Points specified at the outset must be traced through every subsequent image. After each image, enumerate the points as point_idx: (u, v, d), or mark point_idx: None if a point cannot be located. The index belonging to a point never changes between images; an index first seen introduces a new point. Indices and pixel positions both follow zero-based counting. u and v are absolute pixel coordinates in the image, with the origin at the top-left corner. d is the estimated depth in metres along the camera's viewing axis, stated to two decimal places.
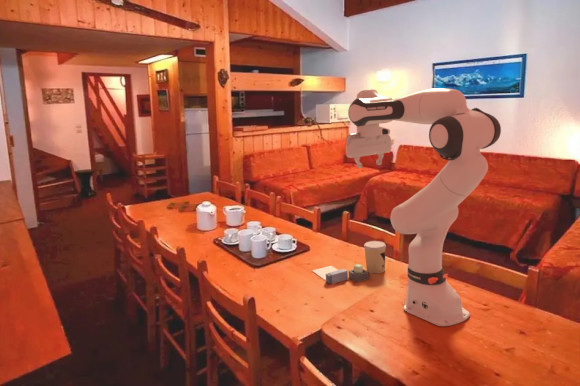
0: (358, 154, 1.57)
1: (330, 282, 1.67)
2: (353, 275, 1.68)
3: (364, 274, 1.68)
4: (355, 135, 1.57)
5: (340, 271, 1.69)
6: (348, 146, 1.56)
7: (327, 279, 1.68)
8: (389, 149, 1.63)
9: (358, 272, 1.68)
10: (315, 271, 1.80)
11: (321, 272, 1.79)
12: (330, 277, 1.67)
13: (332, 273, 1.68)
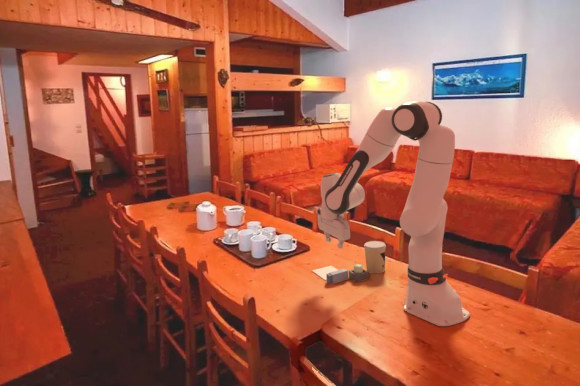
0: None
1: (331, 282, 1.67)
2: (353, 275, 1.68)
3: (364, 274, 1.68)
4: None
5: (340, 271, 1.69)
6: (346, 229, 1.56)
7: (327, 279, 1.68)
8: None
9: (358, 272, 1.68)
10: (315, 271, 1.80)
11: (321, 272, 1.79)
12: (331, 277, 1.67)
13: (333, 273, 1.68)
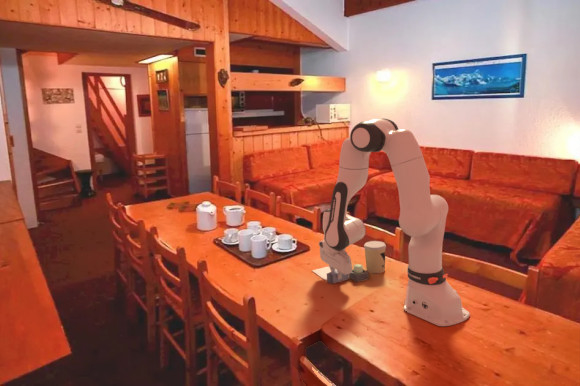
0: None
1: (331, 281, 1.67)
2: (353, 275, 1.68)
3: (364, 274, 1.68)
4: None
5: None
6: (348, 263, 1.59)
7: (328, 279, 1.68)
8: None
9: (358, 272, 1.68)
10: (315, 271, 1.80)
11: (321, 272, 1.79)
12: (331, 276, 1.67)
13: (333, 272, 1.68)
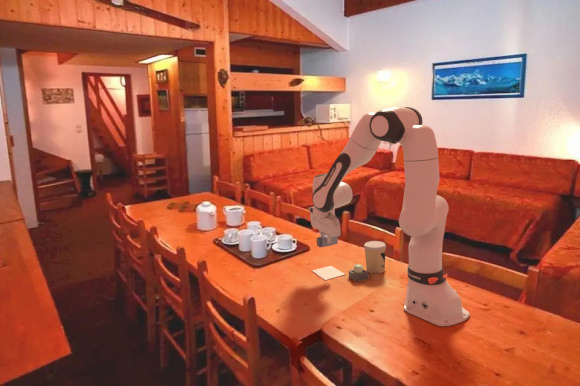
0: None
1: (321, 245, 1.73)
2: (353, 275, 1.68)
3: (364, 274, 1.68)
4: None
5: None
6: (337, 226, 1.65)
7: (317, 243, 1.74)
8: None
9: (358, 272, 1.68)
10: (315, 271, 1.80)
11: (321, 272, 1.79)
12: (321, 240, 1.72)
13: (323, 237, 1.74)
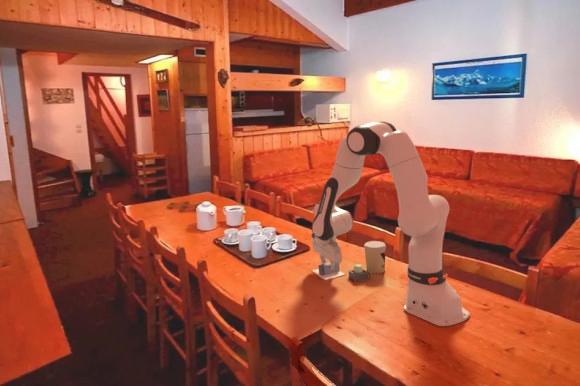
0: None
1: (323, 273, 1.75)
2: (353, 275, 1.68)
3: (364, 274, 1.68)
4: None
5: None
6: (338, 253, 1.67)
7: (319, 270, 1.76)
8: None
9: (358, 272, 1.68)
10: (315, 271, 1.80)
11: None
12: (323, 268, 1.75)
13: (324, 264, 1.76)
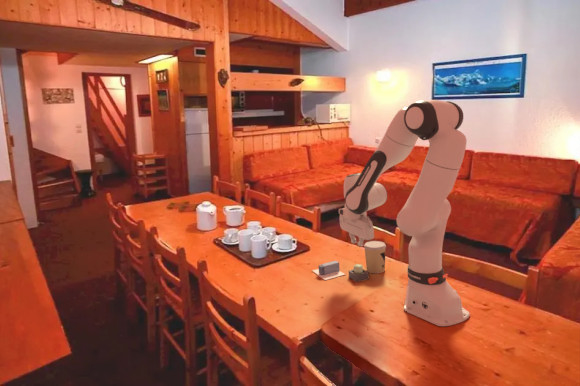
0: None
1: (323, 273, 1.75)
2: (353, 275, 1.68)
3: (364, 274, 1.68)
4: None
5: (332, 263, 1.78)
6: (370, 228, 1.57)
7: (319, 270, 1.76)
8: None
9: (358, 272, 1.68)
10: (315, 271, 1.80)
11: None
12: (323, 268, 1.75)
13: (324, 264, 1.76)
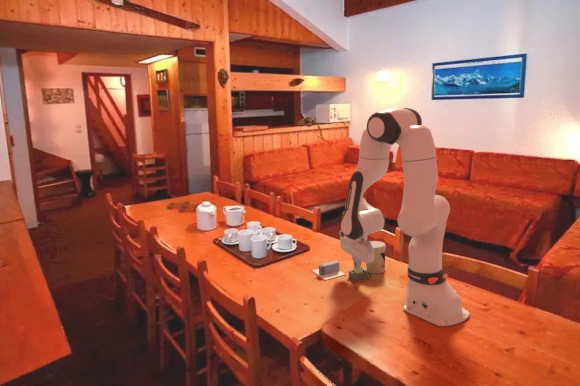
0: None
1: (323, 273, 1.75)
2: (353, 275, 1.68)
3: (364, 274, 1.68)
4: None
5: (332, 263, 1.78)
6: (371, 252, 1.59)
7: (319, 270, 1.76)
8: None
9: (358, 273, 1.68)
10: (315, 271, 1.80)
11: None
12: (323, 268, 1.75)
13: (324, 264, 1.76)
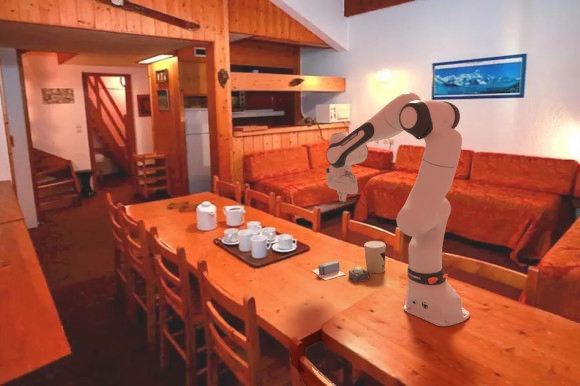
0: None
1: (323, 273, 1.75)
2: (353, 275, 1.68)
3: (364, 274, 1.68)
4: None
5: (332, 263, 1.78)
6: (354, 183, 1.66)
7: (319, 270, 1.76)
8: None
9: None
10: (315, 271, 1.80)
11: None
12: (323, 268, 1.75)
13: (324, 264, 1.76)
